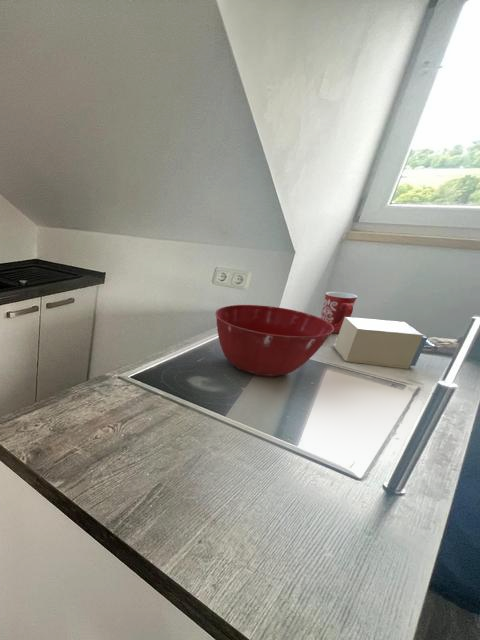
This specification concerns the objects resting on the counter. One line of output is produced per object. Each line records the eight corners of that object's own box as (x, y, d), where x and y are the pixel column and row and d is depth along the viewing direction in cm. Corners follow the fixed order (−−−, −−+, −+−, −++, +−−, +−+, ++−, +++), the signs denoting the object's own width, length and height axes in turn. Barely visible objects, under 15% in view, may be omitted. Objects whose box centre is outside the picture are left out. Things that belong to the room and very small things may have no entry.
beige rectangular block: (390, 353, 124) (404, 321, 119) (408, 368, 113) (423, 335, 109) (334, 347, 130) (344, 316, 125) (345, 361, 119) (357, 328, 115)
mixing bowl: (341, 378, 109) (360, 326, 103) (267, 397, 100) (284, 341, 94) (250, 344, 133) (262, 300, 127) (185, 357, 125) (194, 311, 118)
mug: (310, 325, 150) (321, 291, 144) (338, 327, 147) (350, 292, 142) (324, 336, 139) (336, 299, 133) (354, 338, 136) (368, 301, 131)
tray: (417, 354, 120) (429, 327, 117) (436, 368, 111) (450, 340, 108) (344, 346, 128) (354, 320, 124) (356, 359, 118) (366, 332, 115)
